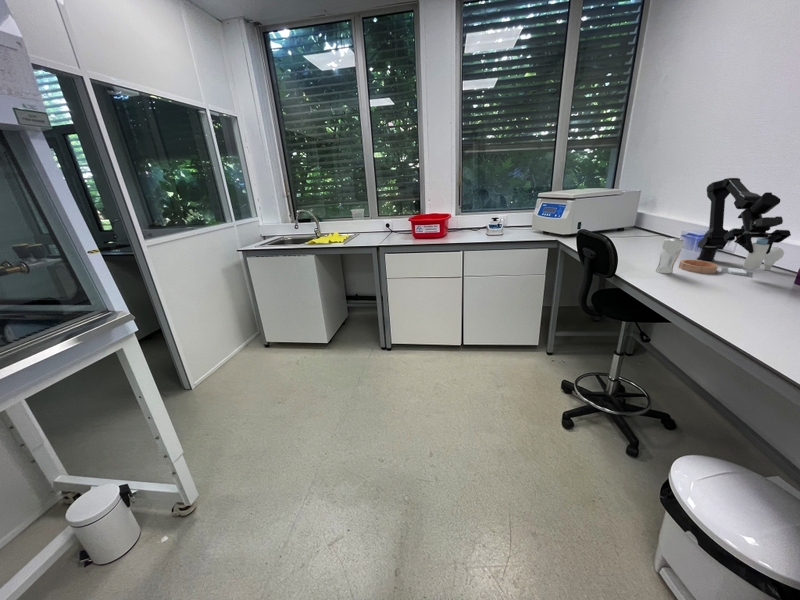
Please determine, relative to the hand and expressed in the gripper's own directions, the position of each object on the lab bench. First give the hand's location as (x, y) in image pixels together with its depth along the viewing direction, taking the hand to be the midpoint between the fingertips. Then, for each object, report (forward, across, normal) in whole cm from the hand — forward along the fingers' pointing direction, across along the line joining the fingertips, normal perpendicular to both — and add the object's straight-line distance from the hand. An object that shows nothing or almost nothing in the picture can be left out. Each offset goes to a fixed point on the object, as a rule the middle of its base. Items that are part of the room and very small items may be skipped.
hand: (759, 253), depth 129 cm
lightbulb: (-4, +16, +21) cm, 27 cm away
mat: (+1, +1, +16) cm, 16 cm away
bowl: (0, -12, +17) cm, 21 cm away
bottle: (+4, 0, +6) cm, 7 cm away
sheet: (+1, +1, +15) cm, 15 cm away
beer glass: (+5, -28, +12) cm, 31 cm away
